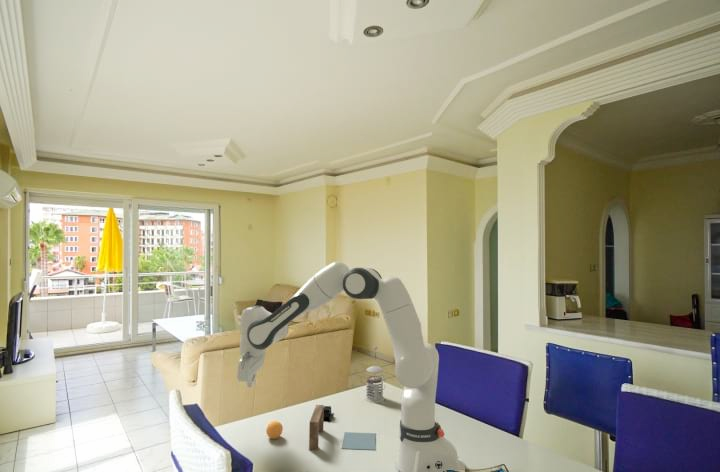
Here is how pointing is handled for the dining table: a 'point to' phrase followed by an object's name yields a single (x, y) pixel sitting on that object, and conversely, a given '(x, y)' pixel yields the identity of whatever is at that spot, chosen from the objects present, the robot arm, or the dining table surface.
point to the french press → (374, 385)
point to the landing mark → (359, 441)
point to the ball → (274, 429)
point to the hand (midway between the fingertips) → (250, 385)
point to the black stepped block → (328, 414)
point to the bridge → (316, 426)
